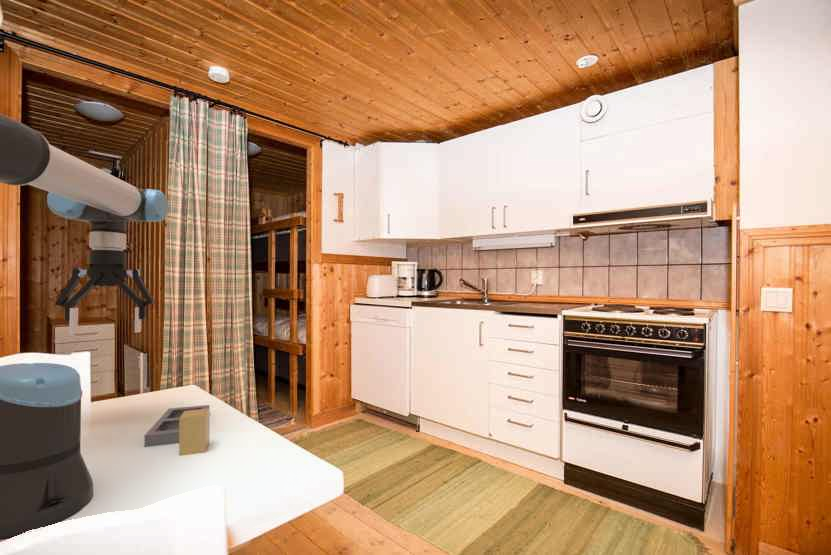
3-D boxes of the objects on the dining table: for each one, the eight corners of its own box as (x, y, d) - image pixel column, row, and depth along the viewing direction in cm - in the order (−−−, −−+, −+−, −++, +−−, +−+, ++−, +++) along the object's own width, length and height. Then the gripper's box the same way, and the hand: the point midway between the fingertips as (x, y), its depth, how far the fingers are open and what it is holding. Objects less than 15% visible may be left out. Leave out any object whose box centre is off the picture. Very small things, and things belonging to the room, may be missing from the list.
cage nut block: (205, 452, 87) (205, 415, 87) (179, 455, 85) (179, 418, 85) (209, 443, 92) (209, 408, 92) (184, 446, 90) (184, 410, 90)
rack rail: (194, 441, 93) (194, 430, 93) (144, 446, 90) (144, 435, 90) (209, 413, 112) (209, 404, 112) (168, 417, 109) (168, 408, 109)
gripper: (167, 252, 110) (166, 329, 110) (54, 249, 102) (52, 333, 101) (160, 250, 103) (159, 332, 103) (38, 247, 95) (36, 336, 94)
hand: (106, 333), depth 102 cm, fingers open, 13 cm apart
